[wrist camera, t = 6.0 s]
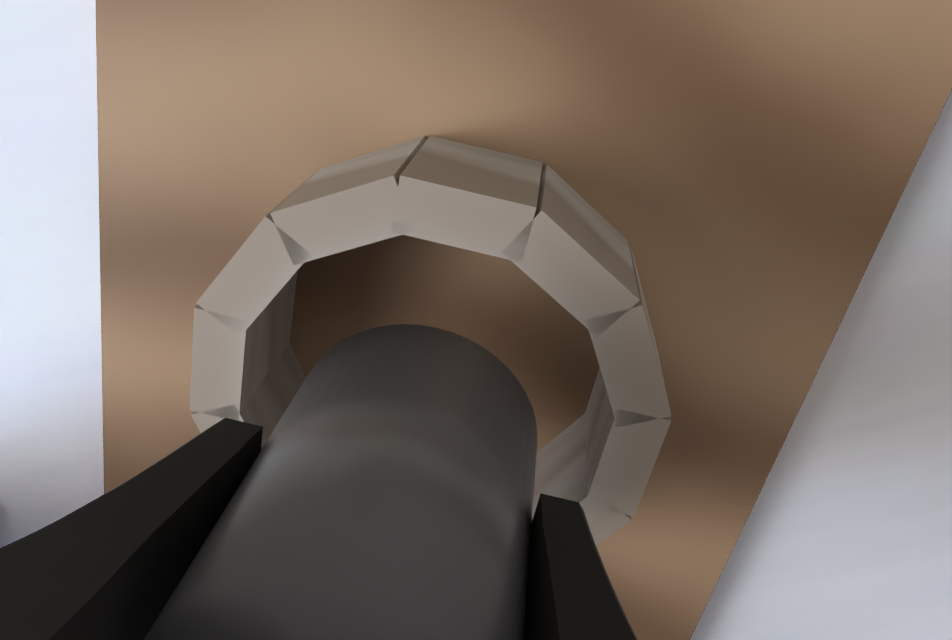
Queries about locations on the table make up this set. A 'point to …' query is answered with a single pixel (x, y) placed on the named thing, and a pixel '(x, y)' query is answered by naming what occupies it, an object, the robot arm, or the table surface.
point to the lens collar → (512, 226)
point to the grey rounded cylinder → (377, 505)
